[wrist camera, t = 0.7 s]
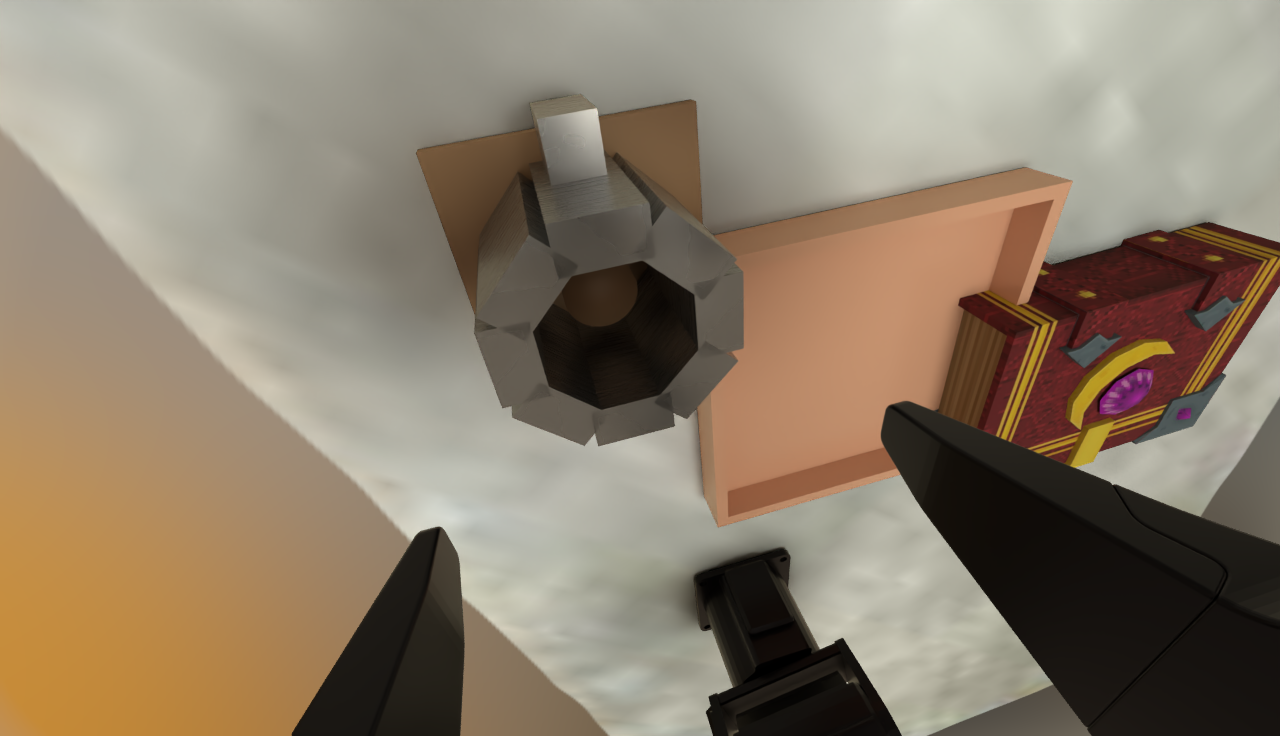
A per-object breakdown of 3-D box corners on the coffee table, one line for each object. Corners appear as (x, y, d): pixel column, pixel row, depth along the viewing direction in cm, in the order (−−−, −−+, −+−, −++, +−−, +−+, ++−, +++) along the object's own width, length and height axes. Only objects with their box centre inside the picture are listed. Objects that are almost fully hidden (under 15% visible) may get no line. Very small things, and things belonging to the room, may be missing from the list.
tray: (944, 428, 31) (972, 453, 29) (704, 496, 29) (717, 527, 27) (1025, 167, 22) (1072, 180, 20) (684, 241, 20) (703, 263, 18)
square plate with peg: (704, 327, 22) (734, 371, 20) (499, 376, 21) (501, 430, 19) (691, 99, 17) (730, 116, 14) (417, 149, 16) (402, 178, 13)
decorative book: (942, 284, 25) (1028, 336, 21) (1222, 207, 27) (1352, 242, 23) (906, 447, 32) (966, 510, 28) (1131, 378, 33) (1218, 428, 29)
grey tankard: (687, 319, 21) (744, 407, 17) (515, 360, 21) (523, 465, 16) (667, 78, 16) (742, 106, 11) (436, 119, 15) (412, 167, 11)
